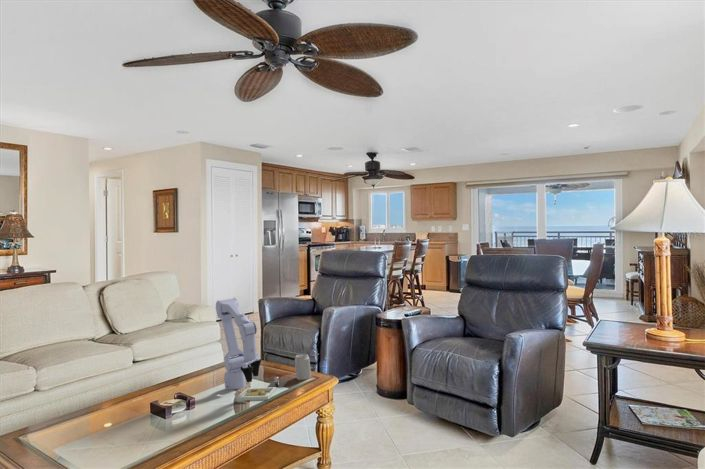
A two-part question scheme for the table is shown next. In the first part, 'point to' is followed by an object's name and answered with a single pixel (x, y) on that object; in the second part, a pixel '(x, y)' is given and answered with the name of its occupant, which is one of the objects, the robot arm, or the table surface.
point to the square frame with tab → (256, 392)
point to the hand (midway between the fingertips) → (252, 378)
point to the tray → (242, 398)
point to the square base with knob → (277, 383)
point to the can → (302, 367)
